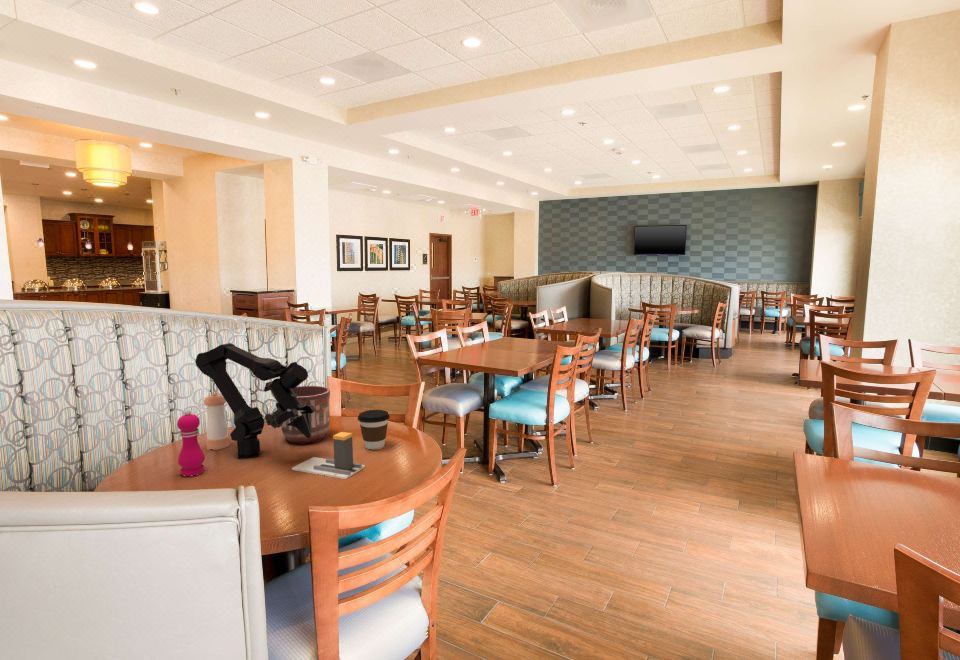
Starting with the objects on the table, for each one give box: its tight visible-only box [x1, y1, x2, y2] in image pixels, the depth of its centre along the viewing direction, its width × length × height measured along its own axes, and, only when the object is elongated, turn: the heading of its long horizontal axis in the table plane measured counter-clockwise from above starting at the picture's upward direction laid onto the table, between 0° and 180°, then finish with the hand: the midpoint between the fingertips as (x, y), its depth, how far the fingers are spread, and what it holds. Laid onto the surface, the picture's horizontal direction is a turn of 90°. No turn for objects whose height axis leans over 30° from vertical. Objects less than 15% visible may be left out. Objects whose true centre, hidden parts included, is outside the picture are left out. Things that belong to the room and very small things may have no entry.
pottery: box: [280, 385, 331, 445], centre depth 191 cm, size 18×18×18 cm
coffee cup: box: [357, 409, 391, 451], centre depth 182 cm, size 11×11×12 cm
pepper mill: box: [176, 409, 206, 476], centre depth 160 cm, size 7×7×20 cm
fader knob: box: [332, 431, 354, 471], centre depth 161 cm, size 4×4×11 cm
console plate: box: [291, 456, 366, 480], centre depth 164 cm, size 20×10×2 cm, turn 68°
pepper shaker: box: [203, 392, 231, 451], centre depth 184 cm, size 7×7×19 cm
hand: (309, 437), depth 166 cm, fingers closed
